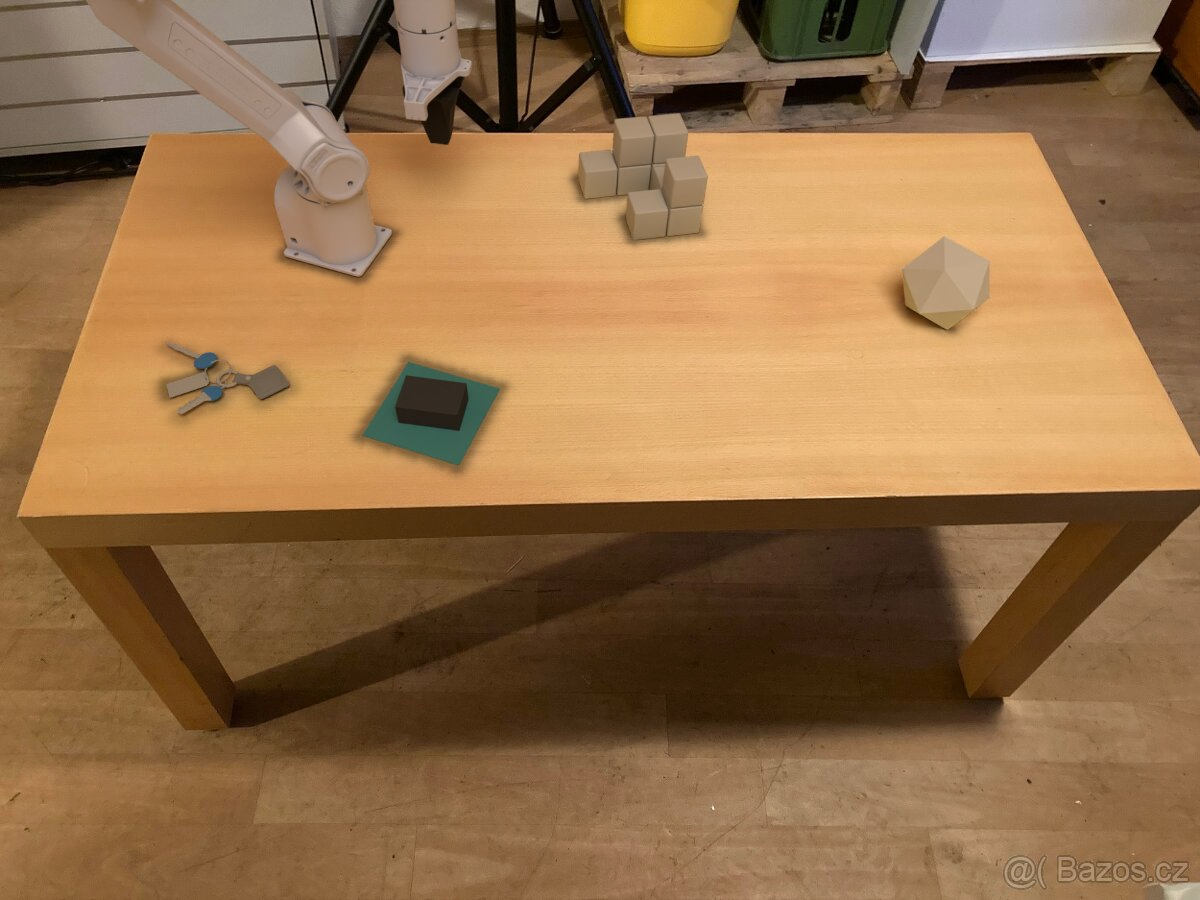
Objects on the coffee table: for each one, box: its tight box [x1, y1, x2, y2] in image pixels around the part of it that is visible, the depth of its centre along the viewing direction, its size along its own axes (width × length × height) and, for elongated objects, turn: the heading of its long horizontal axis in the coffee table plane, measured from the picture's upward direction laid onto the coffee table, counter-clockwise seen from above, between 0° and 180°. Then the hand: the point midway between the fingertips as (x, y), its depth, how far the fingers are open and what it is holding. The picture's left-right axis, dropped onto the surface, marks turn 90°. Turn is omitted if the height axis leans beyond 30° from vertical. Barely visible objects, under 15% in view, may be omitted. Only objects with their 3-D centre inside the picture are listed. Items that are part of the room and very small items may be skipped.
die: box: [901, 235, 991, 331], centre depth 97 cm, size 8×9×10 cm
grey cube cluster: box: [577, 112, 709, 241], centre depth 105 cm, size 12×12×8 cm
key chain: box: [165, 341, 291, 415], centre depth 89 cm, size 14×8×1 cm, turn 76°
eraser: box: [395, 375, 469, 431], centre depth 88 cm, size 6×4×2 cm, turn 82°
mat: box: [362, 361, 501, 466], centre depth 89 cm, size 10×10×1 cm
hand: (440, 140), depth 99 cm, fingers closed
